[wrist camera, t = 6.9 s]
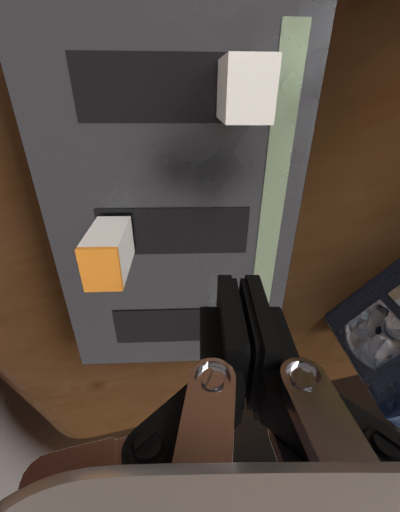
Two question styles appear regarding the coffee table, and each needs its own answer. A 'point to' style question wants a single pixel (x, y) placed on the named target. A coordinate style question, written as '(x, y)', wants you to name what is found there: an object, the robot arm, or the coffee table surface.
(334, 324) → the vhs cassette tape
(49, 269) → the coffee table surface
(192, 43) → the breaker panel
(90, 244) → the block
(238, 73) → the breaker
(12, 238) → the coffee table surface
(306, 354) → the coffee table surface
